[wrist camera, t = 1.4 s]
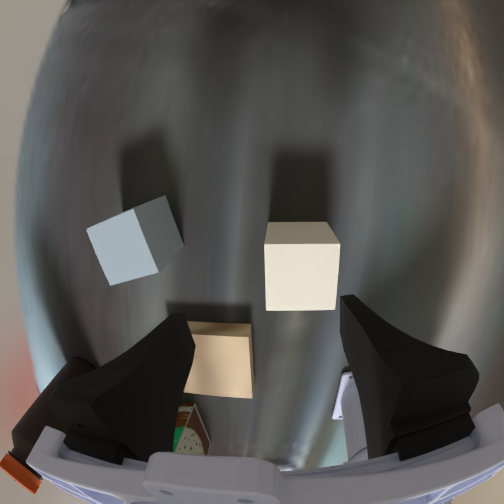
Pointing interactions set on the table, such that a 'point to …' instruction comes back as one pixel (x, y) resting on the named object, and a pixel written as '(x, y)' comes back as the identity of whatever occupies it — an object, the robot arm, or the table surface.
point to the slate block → (136, 241)
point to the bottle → (37, 428)
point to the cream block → (301, 266)
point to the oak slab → (221, 360)
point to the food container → (190, 431)
